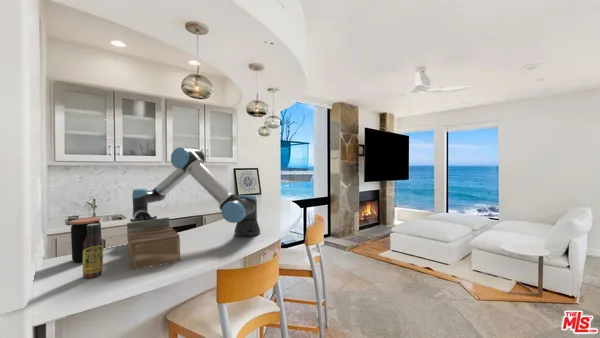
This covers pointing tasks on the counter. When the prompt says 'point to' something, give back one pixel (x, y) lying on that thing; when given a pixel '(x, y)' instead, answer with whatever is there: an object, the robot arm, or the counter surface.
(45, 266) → the counter surface
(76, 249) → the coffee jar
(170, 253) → the chest
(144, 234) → the lid
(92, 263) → the sauce bottle
